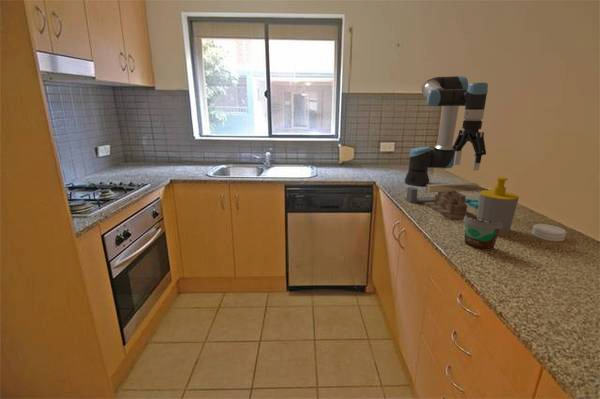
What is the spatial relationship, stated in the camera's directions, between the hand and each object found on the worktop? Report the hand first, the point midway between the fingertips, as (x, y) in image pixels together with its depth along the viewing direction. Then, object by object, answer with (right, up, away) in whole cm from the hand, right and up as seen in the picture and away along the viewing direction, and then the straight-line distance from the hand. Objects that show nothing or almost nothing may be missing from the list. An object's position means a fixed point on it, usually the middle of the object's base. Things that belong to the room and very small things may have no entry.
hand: (465, 167), depth 143 cm
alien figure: (+18, -18, +14) cm, 30 cm away
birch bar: (-6, -11, +2) cm, 12 cm away
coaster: (+18, -29, -25) cm, 42 cm away
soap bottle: (+1, -27, -18) cm, 32 cm away
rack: (-8, -15, +22) cm, 28 cm away
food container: (-14, -32, -33) cm, 48 cm away
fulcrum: (-6, -20, +5) cm, 21 cm away
